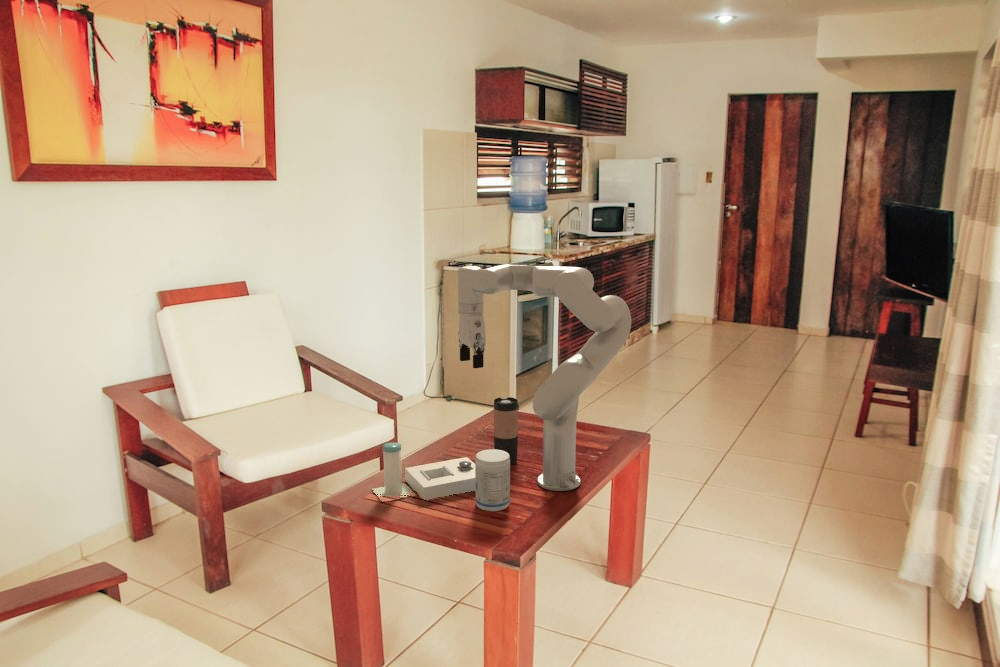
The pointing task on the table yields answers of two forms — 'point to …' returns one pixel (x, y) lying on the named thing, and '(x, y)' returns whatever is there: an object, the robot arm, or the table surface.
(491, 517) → the table surface
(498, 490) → the supplement tub
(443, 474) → the housing
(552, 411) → the robot arm
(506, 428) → the travel mug
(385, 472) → the cartridge
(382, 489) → the mat
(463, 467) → the plunger
